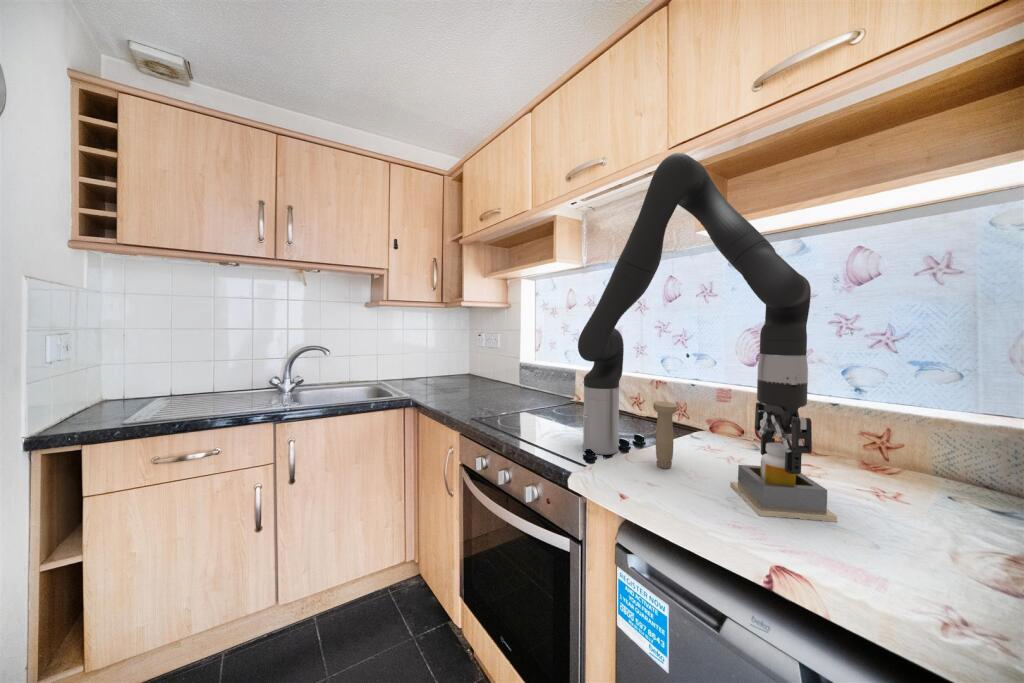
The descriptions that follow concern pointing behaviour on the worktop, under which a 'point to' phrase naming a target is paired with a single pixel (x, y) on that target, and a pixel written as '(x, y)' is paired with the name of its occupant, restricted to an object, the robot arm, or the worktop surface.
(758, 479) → the gray open box
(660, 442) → the handle
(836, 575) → the worktop surface
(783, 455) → the supplement bottle
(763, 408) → the robot arm
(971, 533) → the worktop surface
